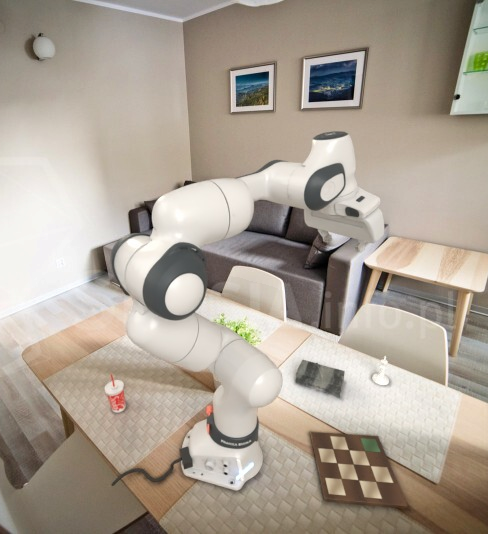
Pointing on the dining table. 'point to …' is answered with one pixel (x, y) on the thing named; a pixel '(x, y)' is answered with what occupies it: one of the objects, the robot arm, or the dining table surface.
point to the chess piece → (381, 374)
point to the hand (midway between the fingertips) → (343, 245)
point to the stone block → (320, 377)
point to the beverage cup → (116, 395)
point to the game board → (355, 470)
